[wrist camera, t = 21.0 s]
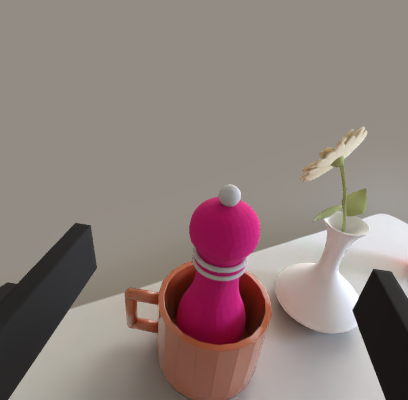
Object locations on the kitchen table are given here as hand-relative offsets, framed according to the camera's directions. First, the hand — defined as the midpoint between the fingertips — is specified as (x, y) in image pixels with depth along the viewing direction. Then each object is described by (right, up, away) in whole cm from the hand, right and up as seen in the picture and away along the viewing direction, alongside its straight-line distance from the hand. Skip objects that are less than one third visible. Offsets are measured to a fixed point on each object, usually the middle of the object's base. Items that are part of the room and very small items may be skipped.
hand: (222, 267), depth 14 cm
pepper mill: (-1, -13, +19) cm, 23 cm away
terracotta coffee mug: (-2, -14, +19) cm, 24 cm away
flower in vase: (+14, -12, +26) cm, 31 cm away
